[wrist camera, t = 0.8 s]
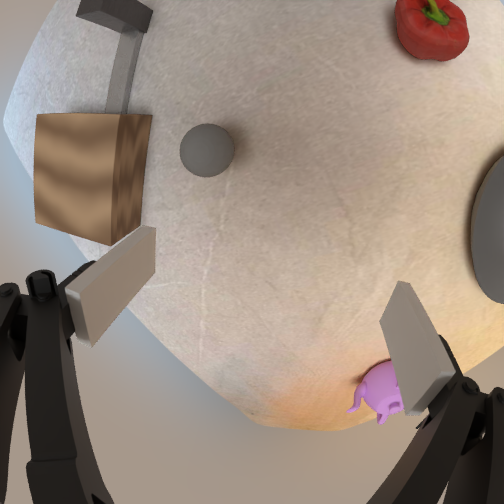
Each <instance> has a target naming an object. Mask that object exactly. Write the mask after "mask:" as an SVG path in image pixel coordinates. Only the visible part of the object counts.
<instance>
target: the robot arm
mask: <svg viewBox="0 0 504 504" xmlns="http://www.w3.org/2000/svg"><path fill="white" fill-rule="evenodd" d="M155 244H156V228H154V227H149V226H145V225H143V226H142V227H140V228H139V229H138V230H136V231H135V232H134V233H132V234H131V235H130V236H128V237H127V238H126V239H124V240H123V241H122V242H120V243H119V244H118V245H117V246H115V247H114V248H113V249H111V250H110V251H109V252H108V253H106V254H105V255H104V256H102V257H101V258H100V259H99V260H97V261H94V260H93V261H90V262H88V263H85V264H84V265H82V266H81V267H80V268H78V270H77V271H75V272H73V273H72V275H70V276H69V277H67V278H66V279H65V280H64V281H62V282H61V283H60V284H59V285H58V286H57V283H56V278H55V274H54V273H53V272H52V271H50V270H38V271H35V272H33V273H31V274H30V275H29V276H27V278H26V284H27V288H28V292H29V295H24V294H20V290H19V287H18V285H17V284H15V283H5V284H2V285H1V286H0V504H4V501H5V496H6V491H7V480H8V463H9V453H10V443H11V435H12V428H13V422H14V416H15V411H16V406H17V401H18V396H19V391H20V387H21V383H22V379H23V375H24V371H25V400H26V415H27V425H28V435H29V442H30V449H31V461H29V462H28V463H27V465H26V472H27V478H28V483H29V488H30V492H31V496H32V500H33V504H114V502H113V500H112V498H111V496H110V494H109V492H108V490H107V489H106V487H105V485H104V482H103V480H102V477H101V474H100V471H99V468H98V465H97V462H96V459H95V456H94V452H93V449H92V445H91V442H90V439H89V435H88V431H87V427H86V423H85V418H84V414H83V410H82V405H81V400H80V395H79V390H78V384H77V378H76V371H75V365H74V357H73V349H72V342H71V338H70V337H71V335H72V334H73V333H74V332H75V333H76V336H77V340H78V342H80V343H82V344H84V345H86V346H89V347H91V348H92V347H93V346H94V345H95V343H96V342H97V341H98V340H99V338H100V337H101V336H102V335H103V333H104V332H105V331H106V330H107V328H108V327H109V326H110V325H111V323H112V322H113V321H114V320H115V319H116V318H117V316H118V315H119V314H120V313H121V312H122V310H123V309H124V308H125V307H126V306H127V305H128V303H129V302H130V301H131V300H132V299H133V297H134V296H135V295H136V294H137V293H138V292H139V290H140V289H141V288H142V287H143V286H144V285H145V284H146V282H147V281H148V280H149V279H150V278H151V277H152V276H153V274H154V273H155ZM379 322H380V325H381V328H382V331H383V334H384V337H385V340H386V344H387V347H388V350H389V354H390V357H391V360H392V364H393V368H394V371H395V375H396V378H397V382H398V386H399V390H400V394H401V398H402V402H403V406H404V410H405V415H420V414H421V413H422V412H423V411H424V410H425V409H426V408H427V407H428V410H429V415H428V416H427V417H426V418H425V419H424V420H423V421H422V422H421V423H420V424H419V425H418V426H417V427H416V429H418V428H419V427H420V428H419V430H418V431H417V433H416V435H415V436H414V438H413V440H412V442H411V443H410V444H409V446H408V448H407V449H406V451H405V452H404V454H403V455H402V457H401V459H400V460H399V461H398V463H397V464H396V466H395V467H394V469H393V470H392V471H391V473H390V474H389V475H388V477H387V478H386V480H385V481H384V482H383V484H382V485H381V486H380V487H379V489H378V490H377V491H376V492H375V494H374V495H373V496H372V498H371V499H370V500H369V501H368V502H367V504H437V502H438V501H439V499H440V497H441V495H442V493H443V491H444V489H445V487H446V485H447V483H448V486H447V490H446V494H445V498H444V502H443V504H504V389H502V388H500V387H496V388H494V389H493V390H492V392H491V393H490V394H486V393H482V392H480V389H479V386H478V385H477V384H476V382H475V381H473V380H472V379H471V378H469V377H464V376H463V374H462V372H461V370H460V368H459V366H458V363H457V361H456V359H455V357H454V355H453V353H452V351H451V349H450V347H449V345H448V343H447V342H446V340H445V339H444V338H443V337H442V336H441V335H438V334H437V332H436V330H435V328H434V326H433V324H432V322H431V320H430V318H429V316H428V315H427V313H426V311H425V309H424V307H423V305H422V304H421V302H420V300H419V298H418V297H417V295H416V293H415V291H414V290H413V288H412V286H411V285H410V283H406V282H402V281H398V282H397V284H396V287H395V289H394V291H393V294H392V296H391V298H390V300H389V302H388V304H387V307H386V309H385V311H384V313H383V315H382V317H381V319H380V321H379ZM484 433H485V435H484V437H483V439H482V435H483V434H484ZM448 481H449V482H448Z"/></svg>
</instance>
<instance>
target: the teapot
mask: <svg viewBox="0 0 504 504" xmlns="http://www.w3.org/2000/svg"><path fill="white" fill-rule="evenodd" d="M361 397H363V399H364V401H365V402H366V403H367V405H368V406H369V407H371V408H372V409H373V410H374V411H376V412H377V422H378V424H380V425H381V424H384V423H385V421H386V419H387V418H388V415H390V414H395V413H397V412H400V411H402V410H403V409H404V406H403V402H402V398H401V394H400V390H399V386H398V382H397V378H396V375H395V371H394V368H393V364H392V361H387V362H383V363H381V364H379V365H377V366H375V367H374V368H372V369H371V370H370V371H369V372H368V373H367V374H366V375H365V377H364V378H363V380H362V382H361V384H359V385H358V386H357V388H356V390H355V393H354V404H353V406H352V407H351V408H350V409H349V410H347V411H346V412H347V413H349V412H353V411H356V410H357V409H358V408H359V407H360V402H361Z"/></svg>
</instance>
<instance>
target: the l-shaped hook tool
mask: <svg viewBox="0 0 504 504" xmlns="http://www.w3.org/2000/svg"><path fill="white" fill-rule="evenodd" d="M152 13H153V10H151V9H150V8H148V7H147V6H145V5H144V4H142V3H141V2H139V1H137V0H81V2H80V5H79V8H78V11H77V14H76V17H79V18H82V19H85V20H88V21H91V22H94V23H96V24H99V25H102V26H104V27H107V28H109V29H112V30H114V31H117V32H119V33H121V37H120V41H119V45H118V49H117V53H116V57H115V61H114V66H113V70H112V75H111V80H110V85H109V91H108V97H107V103H106V109H105V114H127V108H128V102H129V96H130V91H131V85H132V80H133V75H134V71H135V66H136V62H137V57H138V53H139V49H140V45H141V41H142V38H143V34H144V33H147V30H148V26H149V23H150V19H151V16H152Z"/></svg>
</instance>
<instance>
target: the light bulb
mask: <svg viewBox="0 0 504 504" xmlns="http://www.w3.org/2000/svg"><path fill="white" fill-rule="evenodd" d="M233 156H234V144H233V141H232V138H231V136H230V135H229V134H228V132H227V131H225V130H224V129H223V128H221V127H220V126H217V125H214V124H201V125H198V126H196V127H194V128H192V129H191V130H189V131H188V132H187V133H186V135H185V136H184V138H183V139H182V142H181V145H180V157H181V160H182V163H183V165H184V166H185V167H186V169H188V170H189V171H190V172H191V173H193V174H194V175H197V176H200V177H213V176H216V175H218V174H220V173H222V172H223V171H225V170H226V169H227V168H228V166H229V165H230V163H231V162H232V159H233Z"/></svg>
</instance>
